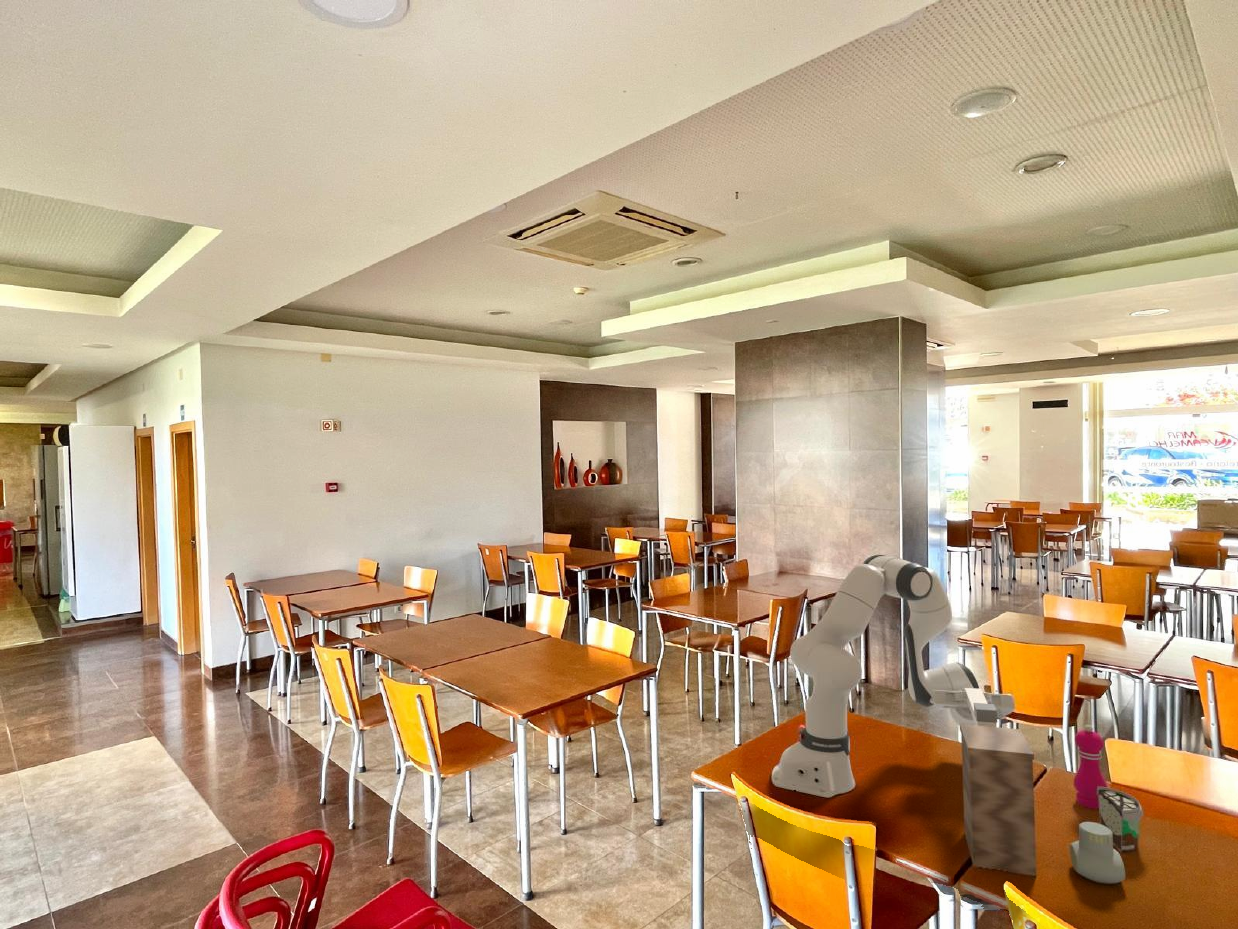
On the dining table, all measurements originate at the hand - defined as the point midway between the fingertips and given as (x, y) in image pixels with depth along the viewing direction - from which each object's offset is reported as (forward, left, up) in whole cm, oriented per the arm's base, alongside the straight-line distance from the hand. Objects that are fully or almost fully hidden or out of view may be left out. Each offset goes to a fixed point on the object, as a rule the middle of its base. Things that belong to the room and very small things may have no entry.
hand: (974, 695), depth 182 cm
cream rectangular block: (0, -8, -2) cm, 8 cm away
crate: (0, -30, -26) cm, 40 cm away
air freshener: (+18, -33, -26) cm, 46 cm away
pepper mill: (+26, +1, -26) cm, 37 cm away
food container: (+28, -17, -26) cm, 42 cm away
